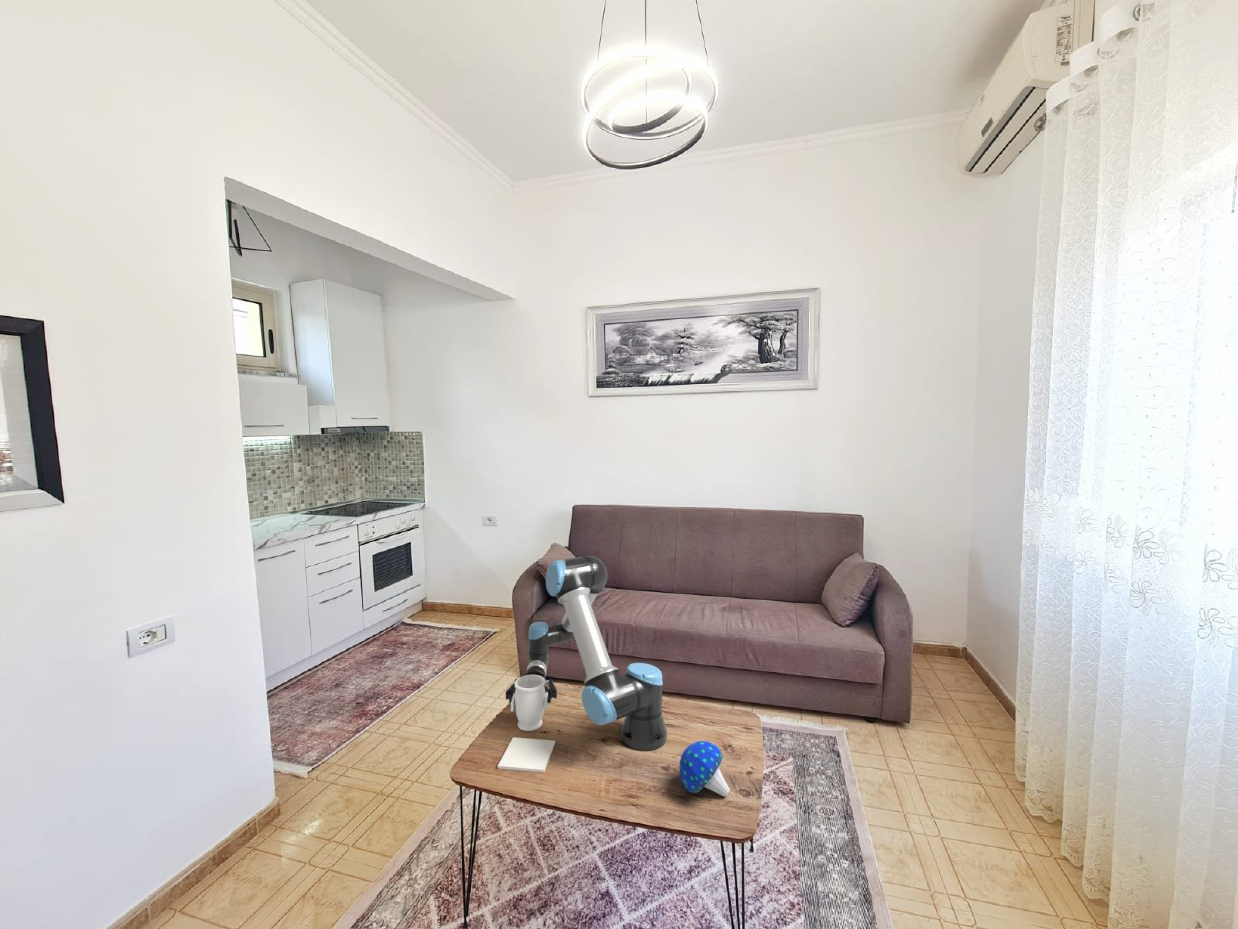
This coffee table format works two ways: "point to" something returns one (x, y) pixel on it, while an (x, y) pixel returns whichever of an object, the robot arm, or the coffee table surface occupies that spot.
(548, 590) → the robot arm
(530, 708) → the jar
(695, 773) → the mushroom
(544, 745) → the ceramic tile
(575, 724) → the coffee table surface
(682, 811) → the coffee table surface
